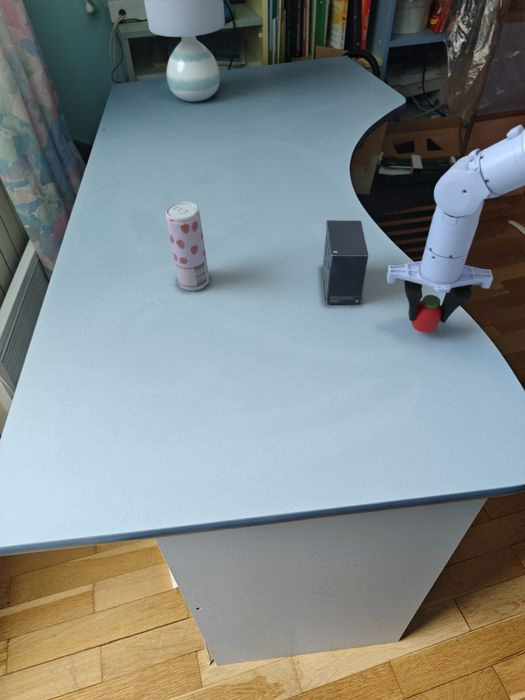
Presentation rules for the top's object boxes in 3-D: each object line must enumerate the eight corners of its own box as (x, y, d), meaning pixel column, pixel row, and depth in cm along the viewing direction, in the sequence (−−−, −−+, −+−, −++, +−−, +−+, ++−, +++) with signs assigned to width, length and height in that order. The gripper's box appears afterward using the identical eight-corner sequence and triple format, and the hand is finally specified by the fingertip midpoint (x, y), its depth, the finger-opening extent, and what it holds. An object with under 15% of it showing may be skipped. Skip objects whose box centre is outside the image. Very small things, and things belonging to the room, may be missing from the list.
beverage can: (183, 271, 92) (170, 199, 81) (212, 273, 91) (203, 201, 81) (175, 290, 88) (159, 218, 78) (205, 293, 88) (194, 220, 77)
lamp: (241, 88, 157) (231, -78, 127) (211, 114, 143) (192, -65, 114) (182, 81, 163) (160, -79, 133) (148, 105, 149) (115, -67, 120)
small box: (362, 305, 84) (370, 255, 76) (325, 305, 84) (329, 256, 77) (356, 267, 91) (362, 218, 84) (321, 268, 92) (324, 219, 84)
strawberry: (436, 315, 79) (444, 291, 76) (439, 333, 76) (447, 310, 73) (410, 314, 80) (416, 290, 76) (412, 332, 77) (419, 308, 73)
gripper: (396, 261, 65) (381, 332, 75) (508, 266, 64) (478, 338, 74) (392, 231, 70) (379, 302, 80) (497, 235, 68) (470, 307, 78)
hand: (426, 317), depth 77 cm, fingers closed on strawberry, 4 cm apart
